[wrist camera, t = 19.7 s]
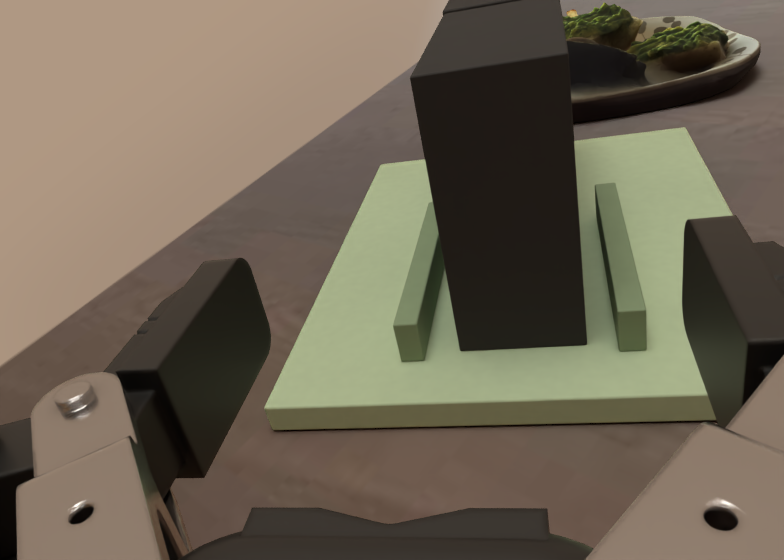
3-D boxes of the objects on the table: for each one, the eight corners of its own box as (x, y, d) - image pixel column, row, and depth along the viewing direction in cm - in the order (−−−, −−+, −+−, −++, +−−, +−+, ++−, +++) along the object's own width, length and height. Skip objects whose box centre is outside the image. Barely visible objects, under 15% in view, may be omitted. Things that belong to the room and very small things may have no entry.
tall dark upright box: (459, 351, 22) (409, 77, 18) (477, 235, 29) (443, 13, 24) (587, 345, 21) (568, 52, 17) (574, 226, 28) (558, -7, 23)
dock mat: (271, 431, 22) (159, 140, 17) (383, 180, 39) (343, -5, 34) (824, 418, 18) (887, 35, 13) (685, 145, 35) (689, -71, 30)
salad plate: (457, 66, 57) (449, 9, 55) (675, 23, 55) (676, -38, 53) (482, 144, 40) (471, 66, 38) (795, 86, 39) (804, 0, 36)
